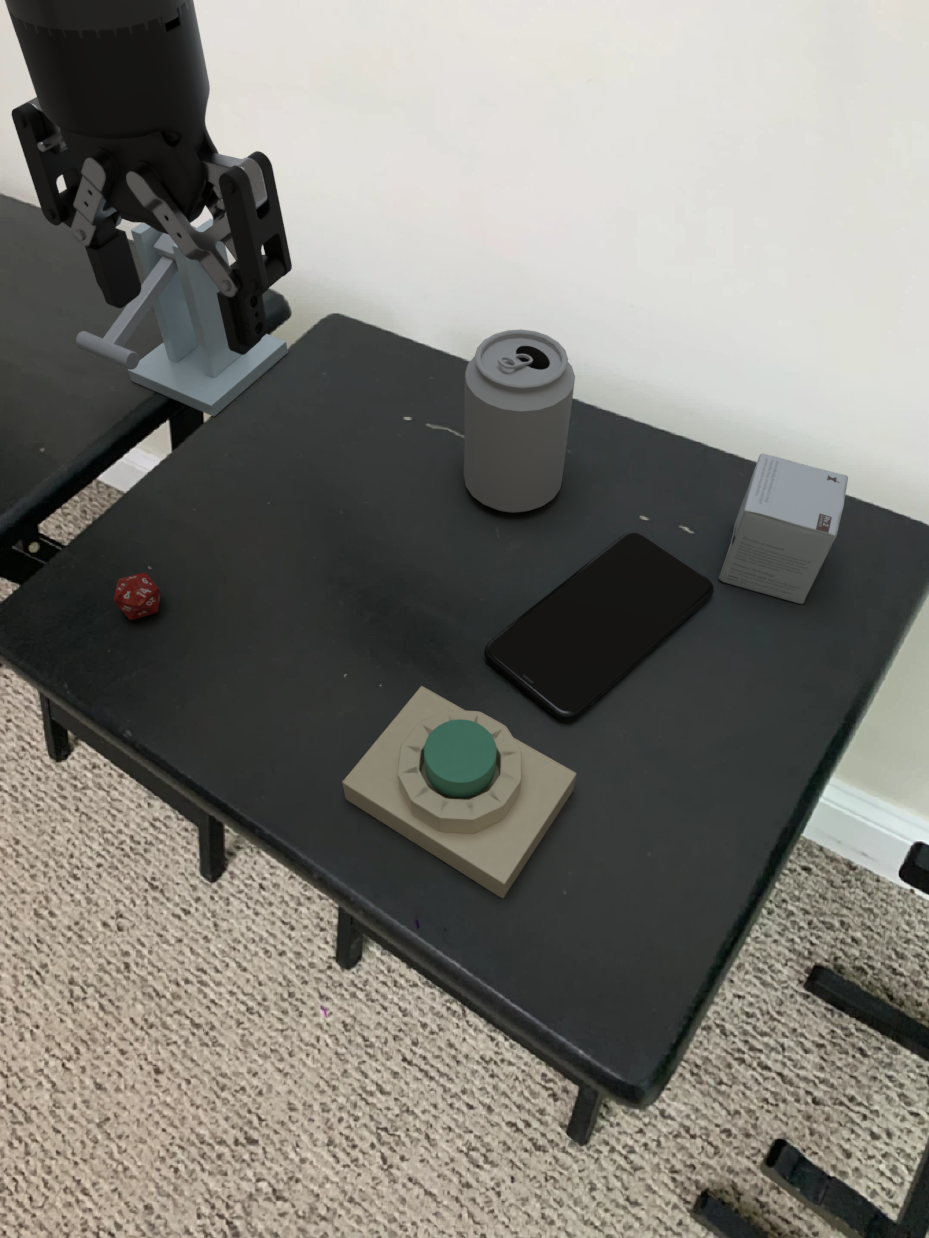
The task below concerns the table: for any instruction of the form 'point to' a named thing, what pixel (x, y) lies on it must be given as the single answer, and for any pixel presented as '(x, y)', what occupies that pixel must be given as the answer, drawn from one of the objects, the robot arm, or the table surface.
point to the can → (516, 420)
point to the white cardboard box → (784, 528)
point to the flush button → (460, 758)
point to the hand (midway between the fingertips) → (185, 322)
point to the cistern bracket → (196, 336)
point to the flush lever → (133, 311)
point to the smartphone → (598, 624)
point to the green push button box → (461, 826)
